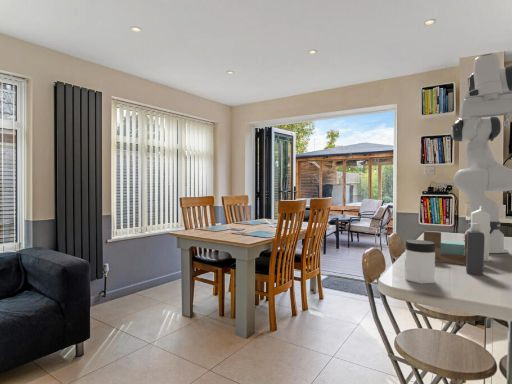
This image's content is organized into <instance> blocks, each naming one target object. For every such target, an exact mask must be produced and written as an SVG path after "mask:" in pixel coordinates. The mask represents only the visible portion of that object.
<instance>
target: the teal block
mask: <svg viewBox="0 0 512 384" xmlns="http://www.w3.org/2000/svg"><path fill="white" fill-rule="evenodd" d="M464 243H465V242H464V241H453V240H445V239H444V240H442V239H441V253H443V254H452V255H462V256H464Z"/></svg>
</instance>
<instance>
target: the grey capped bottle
mask: <svg viewBox="0 0 512 384" xmlns="http://www.w3.org/2000/svg"><path fill="white" fill-rule="evenodd" d="M466 231H467V230H466ZM483 252H484V233H483V232H480V224H477V223H471V231H467V256H466V266H465V271H466V274H467V275H469V274H470V275H476V276H477V275H478V276H484V267H483Z"/></svg>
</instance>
